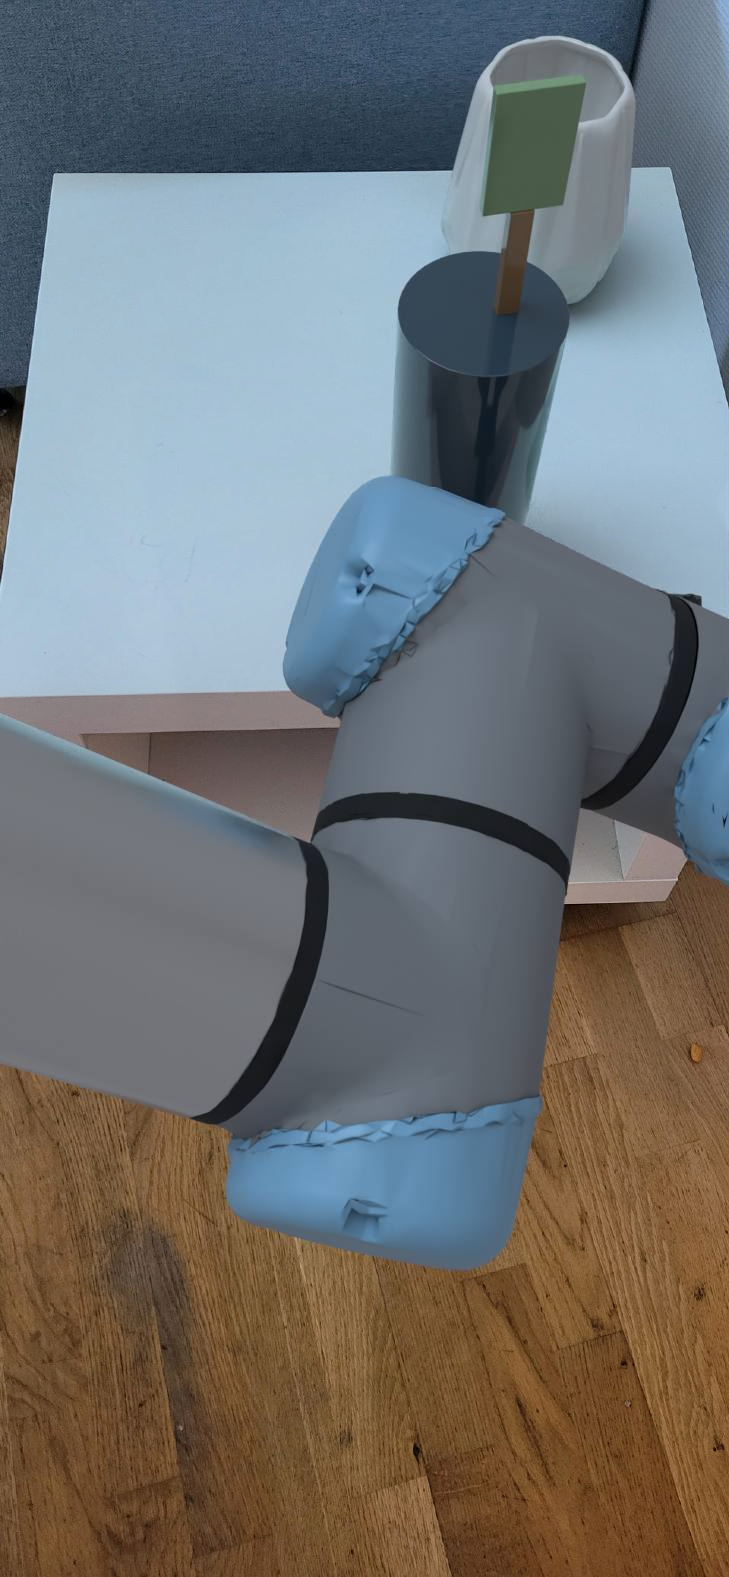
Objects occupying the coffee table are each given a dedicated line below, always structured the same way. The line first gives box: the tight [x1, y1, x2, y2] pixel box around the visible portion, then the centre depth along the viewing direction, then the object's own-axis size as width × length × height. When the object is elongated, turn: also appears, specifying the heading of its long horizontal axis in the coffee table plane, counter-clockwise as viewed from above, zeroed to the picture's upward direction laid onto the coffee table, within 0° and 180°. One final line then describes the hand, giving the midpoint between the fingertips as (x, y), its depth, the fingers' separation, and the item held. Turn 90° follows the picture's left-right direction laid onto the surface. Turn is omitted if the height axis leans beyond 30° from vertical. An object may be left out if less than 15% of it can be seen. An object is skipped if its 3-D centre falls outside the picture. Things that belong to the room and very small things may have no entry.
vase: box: [440, 35, 637, 305], centre depth 85 cm, size 14×14×15 cm
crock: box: [389, 74, 586, 526], centre depth 64 cm, size 9×9×34 cm
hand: (491, 587), depth 70 cm, fingers closed
